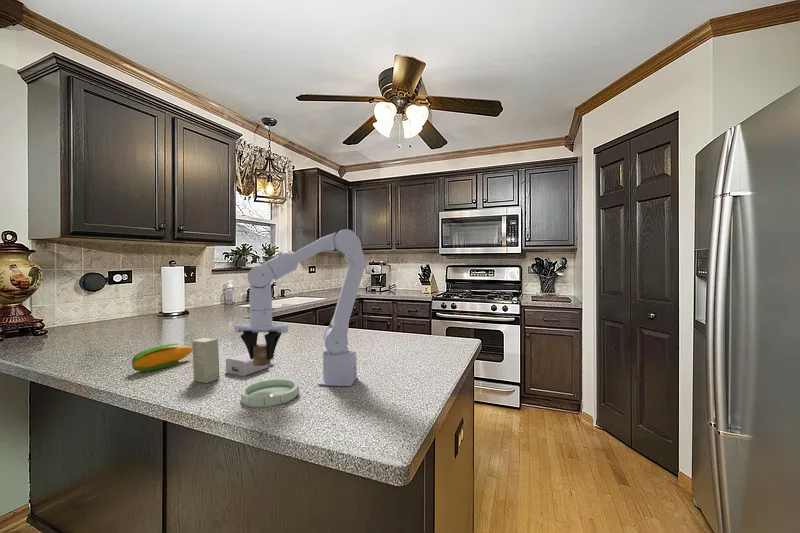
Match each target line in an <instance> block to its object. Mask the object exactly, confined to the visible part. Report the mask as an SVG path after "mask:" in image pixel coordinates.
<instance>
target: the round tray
mask: <svg viewBox="0 0 800 533" xmlns="http://www.w3.org/2000/svg"><path fill="white" fill-rule="evenodd" d="M299 392H300V385H299V382H298V381H297V380H295V379H291V378H286V377H285V378H282V377H280V378H279V377H275V378H269V379H267V378H266V379H263V380H262V379H261V380H258V381H255V382H251V383H249V384H247V385H245V386H244V387H242V388H241V389H240V402H241V404H243V405H244V406H246V407H251V408H268V407H269V406H270V407H275V406H274V405H276V406H279V404H280V405H283V404H282V403H284V404H287V403H288V401H289V402H291V401H293V400H294V399H296V398H297V397H298V396H299ZM297 395H298V396H297ZM296 396H297V397H296ZM295 397H296V398H295ZM292 399H293V400H292ZM290 400H291V401H290ZM270 407H269V408H270Z"/></svg>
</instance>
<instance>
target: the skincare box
mask: <svg viewBox="0 0 800 533" xmlns="http://www.w3.org/2000/svg"><path fill="white" fill-rule="evenodd" d="M191 348H192V352H191V353H192V372H193V373H192V374H193V381H194V382H198V383H203V384H204V383H205V384H210V383H211V382H215V381H217V380H219V379H220V360H219V359H220V358H219V357H220V356H219V339H218V338H214V337H213V338H212V337H202V338H198V339H192V340H191Z"/></svg>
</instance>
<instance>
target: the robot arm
mask: <svg viewBox="0 0 800 533" xmlns="http://www.w3.org/2000/svg"><path fill="white" fill-rule="evenodd" d="M334 250H335V251H337V252H338V253H340V254H341V255H342V256H343V259H344V260H345V261H346V263H347V269H346V273H345V276H344V278H343V282H342V287H341V289H340V293H339V296H338V300H337V303H336V306H335V310H334V314H333V316H332V318H331V320H330V324H329V326H328V327H327V328H326V329H325V331H324V334H323V340H324V344H325V347H324V348H323V349H322V359H323V360H322V370H323V371H322V373H323V374H322V377H323V378H322V379H321V381H319V382H318V386H334V387H335V386H336V387H338V386H339V387H351V386H353V384H354V382H355V381H356V380H357V379H358V375H357V374H358V373H357V370H358V369H357V368H358V365H357V364H358V362H357V352H356V351H354V350H352V351H351V350H349V348H348V345H349V340H348V339H349V338H348V332H349V324H350V319H351V315H352V312H353V308H354V305H355V301H356V298H357V295H358V292H359V288H360V284H361V281H362V278H363V274H364V270H365V266H366V258H365V255H364V251H363V248H362V243H361V240H360V238H359V236H357V234H356V233H355V232H354V231H353V230H352V229H347V228H346V229H340V230H339V231H338V232H333V233H331V234H328V235H325V236H322V237H320V238H318V239H317V240H315V241H313V242H311V243H310V244H307V245H305V246H303V247H301V248H300V249H298V250H296V251H295V252H293V253H292V252H290V251H284V252H282V251H280V252H278V253H277V255H276V256H274V257H272V258H271V259H269V260H267V261H266V260H263V261H261V265H255V266H253V268H252V267H251V269H250V270H249V272H247V273H248V274H247V281H248V283H249V293H248V294H249V296H248V297H249V323H244V324H243V323H241V324H236V325H234V333H236V334H237V333H242V334H240V338H241V340H242V341H243V343H244V345H245V347H246V349H247V353H249V356H250V359H253V346H254V345H257V344H258V337H259V333H266V334H264V340H265V344H266V345H267V359H268V360H270V359H272V358H273V356H274V355H275V351H276V347H277V344H278V342H279V339H280V338H281V335H282V334H287V333H289V325H288V324H278V323H273V295H272V293H273V292H272V284H271V283H272V281H273V280H275V281H278V280H279V279H281V278H283V277H285V276H287V275H288V274H290V273H292V272H294V271H296V270H297V269H298V266H299V263H301V262H303V261H305V260H307V259H309V258H312V257H313V256H315V255H318V254H319V253H321V252H324V251H326V252H327V251H331V252H332V251H334ZM274 357H275V356H274Z"/></svg>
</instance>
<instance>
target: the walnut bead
mask: <svg viewBox="0 0 800 533" xmlns="http://www.w3.org/2000/svg"><path fill="white" fill-rule="evenodd" d="M269 364H271V361H270V360H268V359H267V345H266V343H257V345H254V346H253V365H254V366H264V365H268V366H269Z"/></svg>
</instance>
